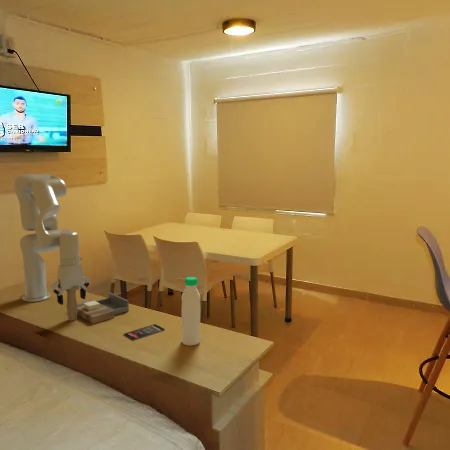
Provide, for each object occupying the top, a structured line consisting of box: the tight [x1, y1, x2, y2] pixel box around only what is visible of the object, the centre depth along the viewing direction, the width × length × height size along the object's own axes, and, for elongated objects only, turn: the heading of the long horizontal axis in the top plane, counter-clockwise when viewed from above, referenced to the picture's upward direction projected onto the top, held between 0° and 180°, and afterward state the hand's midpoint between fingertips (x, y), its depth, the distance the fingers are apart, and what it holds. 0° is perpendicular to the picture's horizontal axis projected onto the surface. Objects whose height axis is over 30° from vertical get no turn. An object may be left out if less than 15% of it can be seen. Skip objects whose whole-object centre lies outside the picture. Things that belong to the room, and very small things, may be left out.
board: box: [77, 299, 115, 325], centre depth 181 cm, size 20×10×3 cm, turn 46°
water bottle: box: [181, 276, 201, 347], centre depth 153 cm, size 7×7×25 cm
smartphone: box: [123, 323, 165, 342], centre depth 163 cm, size 7×1×15 cm
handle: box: [65, 286, 80, 322], centre depth 174 cm, size 5×6×15 cm
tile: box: [84, 300, 100, 311], centre depth 181 cm, size 5×5×2 cm
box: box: [95, 292, 129, 317], centre depth 187 cm, size 16×8×5 cm, turn 46°
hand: (72, 301), depth 173 cm, fingers open, 9 cm apart
